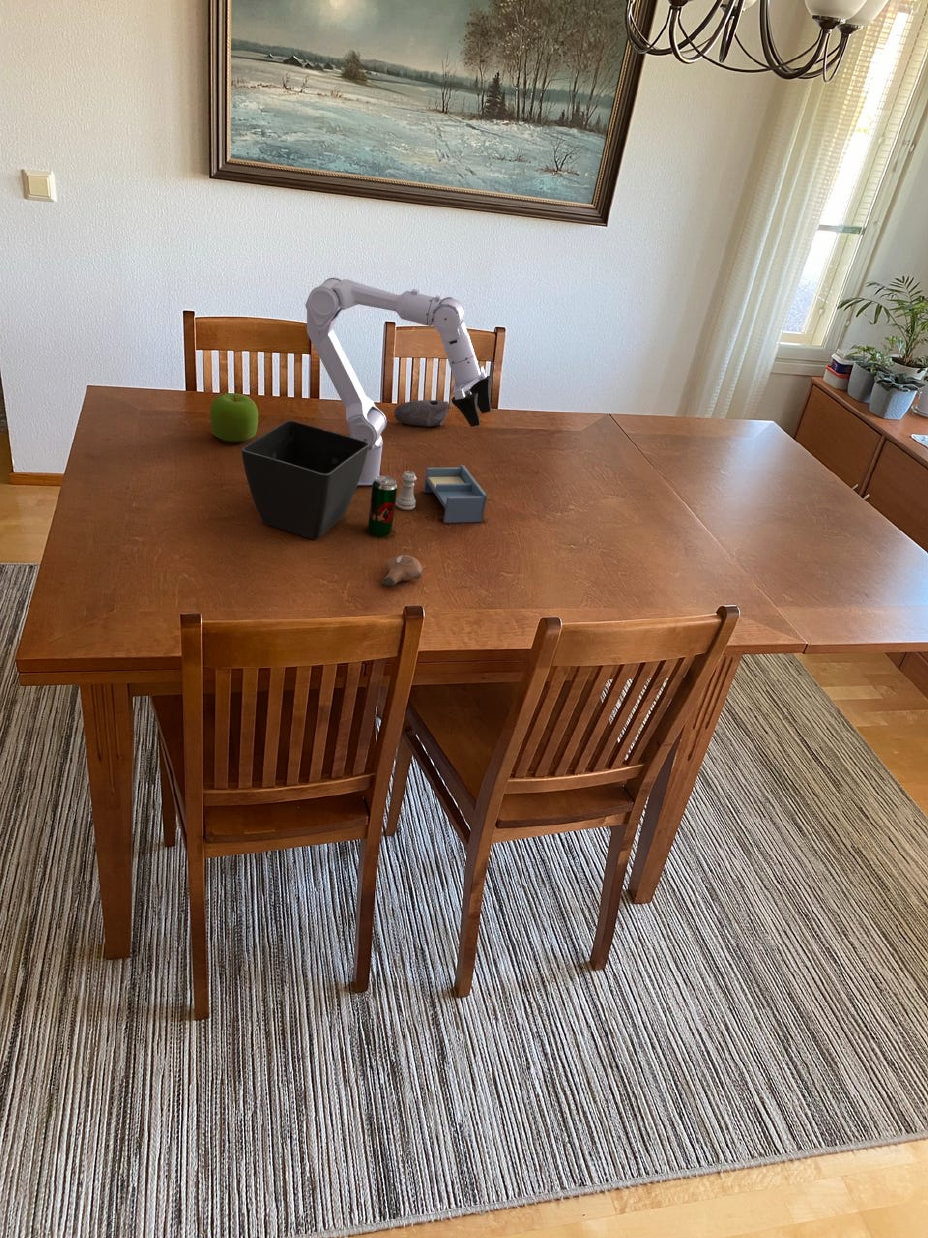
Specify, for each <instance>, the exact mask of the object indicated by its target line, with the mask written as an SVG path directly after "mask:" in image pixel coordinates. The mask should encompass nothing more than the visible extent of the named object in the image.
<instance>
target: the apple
mask: <svg viewBox="0 0 928 1238" xmlns="http://www.w3.org/2000/svg"><path fill="white" fill-rule="evenodd" d="M209 410H210V411H209V413H210V414H209V415H210V417H209V419H210V426H211V428H210V429H211V434H212V435H213V436H215V437H216V438H218V439H219V440H220V441H222V442H224V443H228V444H240V443H244V442H245V441H248V440H250V439H252V438H254V437H255V436H256V435H257V431H258V427H259V426H258V425H259V409H258V407H257V404H256V402H255V401H254V400H253V399H252V398H251V397H249V396H248V395H245V394H241V393H237V392H229V393H223V394H220V395H217V397H215V398H214V399H213V400H212V401H211V403H210V409H209Z"/></svg>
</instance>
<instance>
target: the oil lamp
mask: <svg viewBox="0 0 928 1238" xmlns="http://www.w3.org/2000/svg"><path fill="white" fill-rule="evenodd" d="M385 565H386V567H387V570H388V574H387V575H386V576H385V577H383V578H382V579H381V583H382V585H383V586H385V587H386V586H387V587H388V586H389V587H395V585H396V584H398V583H401V582H406V581H412V580H416V579H417V580H418V579H421V578H422V576H423V575H422V574H423V573H422V570H423V568H422V564H421V562H420V561H419V560H418V559H417V558H415V557H414V556H411V555H407V554H401V555H397V556H394V557H392V558H388V559H387V560H386V561H385Z"/></svg>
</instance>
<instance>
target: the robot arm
mask: <svg viewBox="0 0 928 1238" xmlns="http://www.w3.org/2000/svg"><path fill="white" fill-rule="evenodd" d="M419 292H420V291H419V289H416V288H412V289H411V290H406V291H403V293H401V294H397V293H394V292H391V291H387V290H384V289H380V288H377V287H373V286H370V285H366V284H363V283H360V282H357V281H353V280H351V279H345V278H343V279H341V278H338V277H329V278H327V279H325V280H324V281H323V282H322V283H321V284H319V285H318V286H316V287H314V288H313V289H312V290H311V291H310V293H309V295H308V297H307V299H306V302H305V304H304V306H305V309H306V334H307V336H308V337H309V340H310V341H311V344H312V346H313V347H314V349H315V351H316V353H317V355H318V357H319V360H320V361H321V364H322V365H323V367H324V369H325V372H326V373H327V375H328V377H329V379H330V380H331V383H332V384H333V386H334V388H335V390H336V393H337V395H338V396H339V398H340V400H341V402H342V404H343V406H344V409H345V421H346V424H347V425H348V428H349V437H351V438H355V439H358V440H361V441H365V442H367V443H369V447H368V452H367V456H366V459H365V463H364V467H363V470H362V473H361V476H360V479H359V482H358V485H357V486H372V484H373V482H374V481H375V478H376V477H377V476H381V475H380V472H381V471H380V469H381V462H382V461H381V460H382V453H383V445H384V441H383V439H382V435H381V434H382V433H383V432H384V431H385V429H386V427H387V417H386V415H385V414H384V413H383V411H382V410H380V409H379V408H378V407H377V406H376V403H375V402H374V400H372V399H371V398H370V397H368V396H367V395H366V393H365V391H364V389H363V386H362V384H361V383H360V380H359V378H358V376H357V375H356V373H355V371H354V369H353V367H352V365H351V363H350V361H349V358H348V356H347V354H346V352H345V350H344V348H343V347H342V344H341V342H340V341H339V338H338V336H337V335H336V333H335V330H334V328H335V326H336V323H337V320H338V318H339V316H340V315H339V314H340V313H341V312H342V311H345V310H348V309H350V308H353V307H355V306H359V305H360V306H365V307H369V308H370V307H371V308H376V309H381V310H386V311H391V312H396V314H397V316H398V317H399V318H400V319H401V320H404V321H407V322H411V323H416V324H419V325H423V326H428V327H433V328H434V329H435V330H436V331H437V332H438V333H439V335H440V338H441V342H442V346H443V349H444V352H445V355H446V358H447V362H448V365H449V367H450V371H451V374H452V376H453V380H454V388H453V390H452V393H453V397H452V398H451V399H450V400H451V403H452V405H453V406H454V407H456V408H457V410H459V411H460V413H461V414H462V415H463V417H464V418H465V420H466V421H467V423H468V425H469V426H470V427H471V428H473V427H477V426H480V425H481V417H480V413H481V414H486V413H490V412H491V411H492V404H491V383H492V377H491V375H487V373H486V372H485V368H484V366H483V365H482V366H481V365H480V366H479V364H478V360H477V357H476V353H475V349H474V347H473V343H472V341H471V337H470V334H469V332H468V330H467V326H466V324H465V321H464V320H463V318H464V314H465V311H464V307H463V305H462V303H461V302H460V301H458V300H457V299H455V298H453V297H452V296H447V297H444V298H442V296H441V295H436V296H431V295H428V294H423V293H419ZM479 411H480V412H479Z"/></svg>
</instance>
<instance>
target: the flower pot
mask: <svg viewBox="0 0 928 1238" xmlns="http://www.w3.org/2000/svg"><path fill="white" fill-rule="evenodd" d="M368 447H369V443H367V442H365V441H361V440H358V439H355V438H351V437H350V436H347V435H344V434H341V433H337V432H334V431H330V430H328V429H327V430H326V429H323V428H320V427H316V426H312V425H309V424H306V423H302V422H299V421H296V420H286V421H284V422H282V423H280V424H279V425H278V426H276V427H274V428H273V429H271V430H270V431H268V432H266V433H265V434H263V435H261V436H259V437H257V438H255V439H254V440H252V441H251V442H249V443H247V444H246V445H244V446H242V447H241V457H242V463H243V468H244V472H245V477H246V480H247V484H248V487H249V490H250V491H249V492H250V494H251V496H252V499H253V502H254V505H255V507H256V510H257V512H258V515H259V517H260V520H261V521H262V523H263V524H265V525H268V526H269V527H270V526H271V527H274V528H276V529H279V530H283V531H286V532H290V533H292V534H295V535H298V536H301V537H305V538H308V539H311V540H319V538H321V537H322V536H323V535H324V534H325V533H326V532H328V531H329V530H330V529H331V528H333V527H334V526H335V525H336V524H337V523H339V522H340V520H342V519H343V518H344V517H345V515H346V513H347V511H348V509H349V507H350V504H351V502H352V500H353V497H354V495H355V493H356V490H357V487H358V486H359V485H358V482H359V479H360V476H361V473H362V470H363V467H364V463H365V459H366V456H367V452H368Z"/></svg>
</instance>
